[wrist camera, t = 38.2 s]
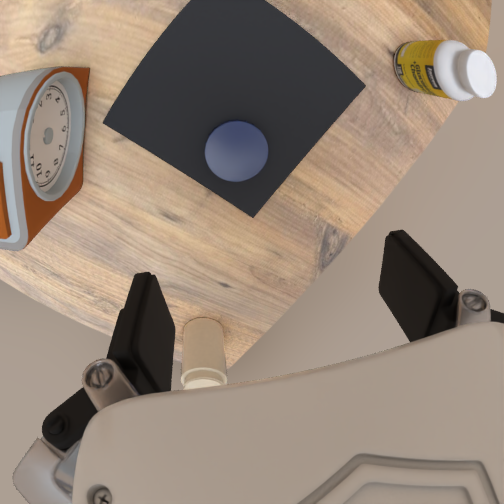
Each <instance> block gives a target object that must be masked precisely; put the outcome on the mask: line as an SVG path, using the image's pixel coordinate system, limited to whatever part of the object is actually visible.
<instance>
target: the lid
mask: <svg viewBox="0 0 504 504" xmlns="http://www.w3.org/2000/svg"><path fill="white" fill-rule="evenodd" d="M205 144H206V145H205V148H204V152H205V159H206V162H207V164H208V167H209V168H210V169H211V171H212V172H213V173H214V174H215V175H217V176H218V177H220V178H222V179H224V180H227V181H232V182H240V181H245V180H248V179H250V178H252V177H254V176H255V175H257V174H258V173H259V172H260V171H261V170H262V168H263V167H264V165H265V163H266V161H267V157H268V143H267V141H266V139H265V136H264V135H263V134H262V132H261V130H260V129H259V128H257V127H256V126H254V124H253V123H252V124H251V123H249V122H247V121H246V120H245V121H244V120H238V119H237V120H228V121H225V122H223V123H222V122H221V124H219V125H218V126H217V127H214V129H213V130H212V131H211V133H209V136H208V138H207V141H206V142H205Z"/></svg>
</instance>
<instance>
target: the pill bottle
mask: <svg viewBox="0 0 504 504" xmlns="http://www.w3.org/2000/svg"><path fill="white" fill-rule="evenodd" d="M394 67H395V71H396V74H397V76H398V78H399V80H400V81H401V82H402V84H403V85H404V86H405V87H407V88H408V89H410V90H412V91H414V92H418V93H424V94H429V95H434V96H439V97H444V98H448V99H453V100H458V101H466V100H469V99H471V98H472V97H474V96H477V97H482V98H487V97H489V96H491V95H492V94H493V92H494V90H495V87H496V71H495V67H494V65H493V63H492V61H491V59H490V58H489V56H488V55H487V54H486V53H484V52H483V51H480V50H474V49H469V48H468V47H467V46H466V45H464V44H463V43H461V42H458V41H455V40H429V41H413V42H407V43H404V44H402V45H401V46H400V47H399V48H398V49H397V51H396V53H395V57H394Z"/></svg>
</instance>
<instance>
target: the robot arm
mask: <svg viewBox="0 0 504 504" xmlns="http://www.w3.org/2000/svg"><path fill="white" fill-rule="evenodd" d="M457 288H458V286H457V285H456V283H455V282H454V281H453V280H452V279H451V278H450V277H449V276H448V275H447V274H446V272H444V270H443V269H442V268H441V267H440V266H439V265H438V264H437V263H436V262H435V261H434V260H433V259H432V258H431V257H430V256H429V255H428V254H427V253H426V252H425V251H424V250H423V249H422V248H421V247H420V246H419V245H418V244H417V243H416V242H415V241H414V240H413V239H412V238H411V237H410V236H409V235H408V234H407V233H406V232H405V231H404V230H397V231H391V232H390V233H389V235H388V236H386V239H385V247H384V254H383V262H382V268H381V275H380V281H379V293H380V295H381V297H382V298H383V300H384V301H385V303H386V304H387V306H388V307H389V309H390V310H391V312H392V314H393V315H394V317H395V318H396V320H397V322H398V323H399V325H400V326H401V328H402V329H403V331H404V333H405V334H406V336H407V338H408V339H409V341H410V343H407V344H404V345H401V346H398V347H395V348H391V349H388V350H385V351H381V352H378V353H374V354H371V355H367V356H364V357H360V358H356V359H352V360H348V361H345V362H341V363H337V364H333V365H328V366H324V367H320V368H315V369H311V370H306V371H301V372H297V373H292V374H287V375H281V376H276V377H271V378H266V379H259V380H253V381H247V382H240V383H234V384H226V385H219V386H211V387H203V388H195V389H186V390H177V391H171V378H172V365H173V353H174V341H175V325H174V322H173V319H172V317H171V314H170V312H169V309H168V307H167V304H166V302H165V299H164V296H163V294H162V291H161V288H160V286H159V283H158V280H157V278H156V276H155V275H151V273H150V272H144V273H137V274H135V276H134V278H133V281H132V285H131V288H130V291H129V294H128V297H127V300H126V303H125V307H124V308H123V309H121V310H120V313H119V316H118V319H117V322H116V326H115V329H114V332H113V336H112V340H111V343H110V347H109V351H108V354H107V358H106V359H99V360H96V361H94V362H92V363H91V364H89V365H88V366H87V367H86V369H85V370H84V372H83V374H82V384H83V388H81V389H80V390H79V391H78V392H76V393H75V394H74V395H73V396H71V397H70V398H69V399H67V400H66V401H65V402H64V403H62V404H61V405H60V406H59V407H57V408H56V409H55V410H53V411H52V412H51V413H50V414H49V415H48V416H47V417H46V418H45V420H44V422H43V425H42V433H43V437H42V438H41V439H39V438H37V439H36V440H35V442H34V443H33V445H32V446H31V447H30V449H29V450H28V451H27V453H26V454H25V456H24V457H23V458H22V460H21V461H20V463H19V464H18V466H17V467H16V468H15V471H14V473H13V483H14V486H15V487H16V489H17V490H18V491H19V492H20V494H21V495H22V496H23V497H24V498H25V499H26V500H27V502H28V503H29V504H504V313H501V312H498V311H494V310H492V309H490V303H489V300H488V299H487V297H486V296H485V295H484V294H483V293H481V292H479V291H477V290H474V289H465V290H463V291H461V292H460V293H459V292H458V291H457Z"/></svg>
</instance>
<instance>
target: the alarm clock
mask: <svg viewBox="0 0 504 504" xmlns="http://www.w3.org/2000/svg"><path fill="white" fill-rule="evenodd" d="M89 69H90V68H86V67H63V66H61V67H52V68H44V69H37V70H30V71H24V72H19V73H13V74H8V75H3V76H0V249H4V250H11V251H20V250H22V249H24V248H25V247H26V246H27V245H28V244H29V243H30V242H31V241H32V239H33V238H34V237H35V236H36V235H37V234H38V233H39V232H40V230H41V229H42V228H43V227H44V226H45V225H46V224H47V223H48V222H49V221H50V220H51V219H52V218H53V217H54V216H55V214H56V213H57V212H58V211H59V210H60V209H61V208H62V207H63V206H64V205H65V204H66V203H67V202H68V201H69V200H70V199H71V198H72V197H73V196H75V195H76V194H77V193H78V192H79V190H80V189H81V187H82V182H83V138H84V128H85V104H86V94H87V85H88V77H89Z"/></svg>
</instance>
